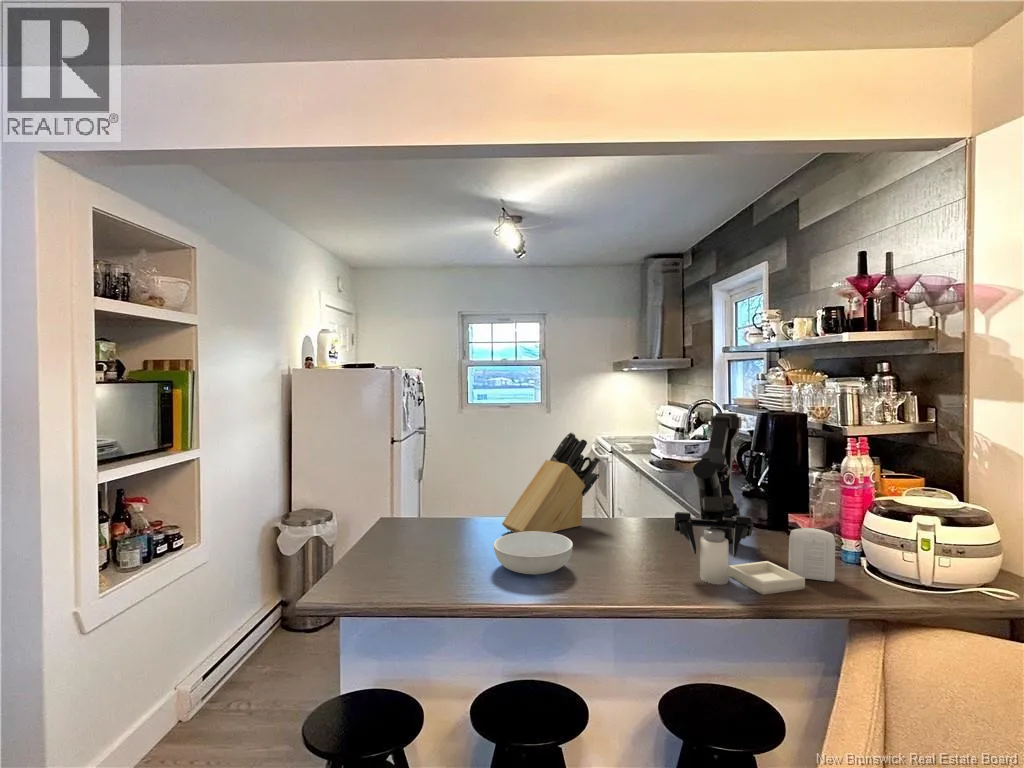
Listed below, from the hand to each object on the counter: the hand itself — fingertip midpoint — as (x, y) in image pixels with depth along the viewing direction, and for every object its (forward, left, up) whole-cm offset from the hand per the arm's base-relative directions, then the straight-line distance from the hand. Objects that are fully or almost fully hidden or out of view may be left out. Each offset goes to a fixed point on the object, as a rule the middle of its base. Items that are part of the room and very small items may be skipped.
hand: (714, 554), depth 129 cm
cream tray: (-12, +4, -7) cm, 14 cm away
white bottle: (-1, -1, -7) cm, 7 cm away
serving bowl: (+40, -21, -7) cm, 46 cm away
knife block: (+22, -54, -7) cm, 59 cm away
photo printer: (-25, +5, -7) cm, 26 cm away
